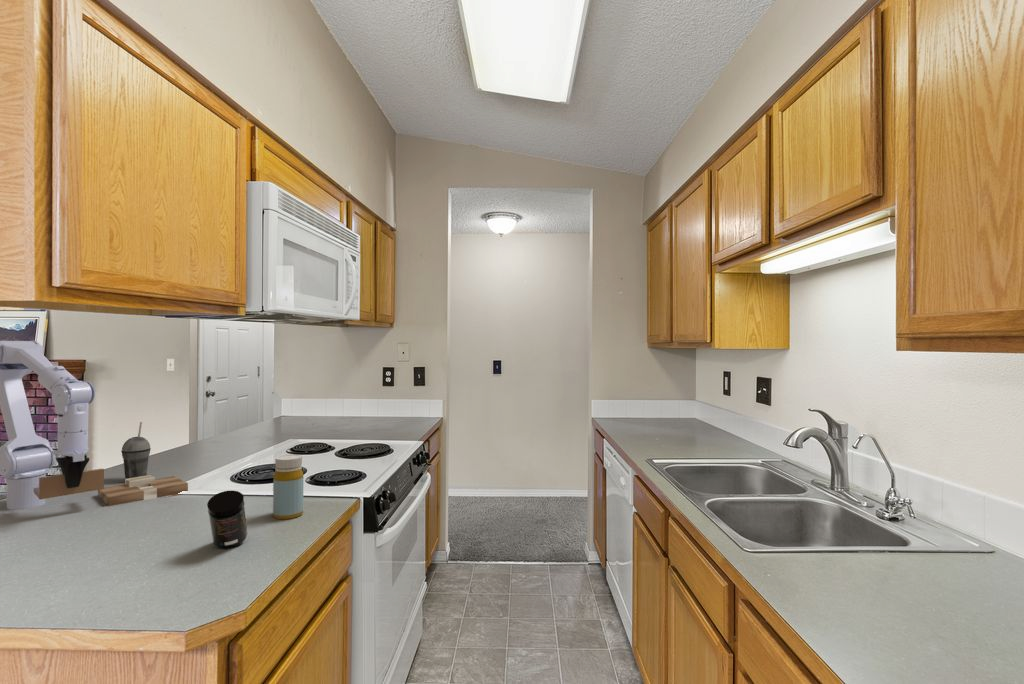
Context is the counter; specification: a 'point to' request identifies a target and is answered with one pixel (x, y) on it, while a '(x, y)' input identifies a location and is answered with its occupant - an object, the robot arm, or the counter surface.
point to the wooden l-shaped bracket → (58, 487)
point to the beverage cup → (136, 456)
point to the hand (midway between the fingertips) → (72, 486)
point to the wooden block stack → (142, 489)
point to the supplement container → (227, 519)
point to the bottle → (288, 487)
